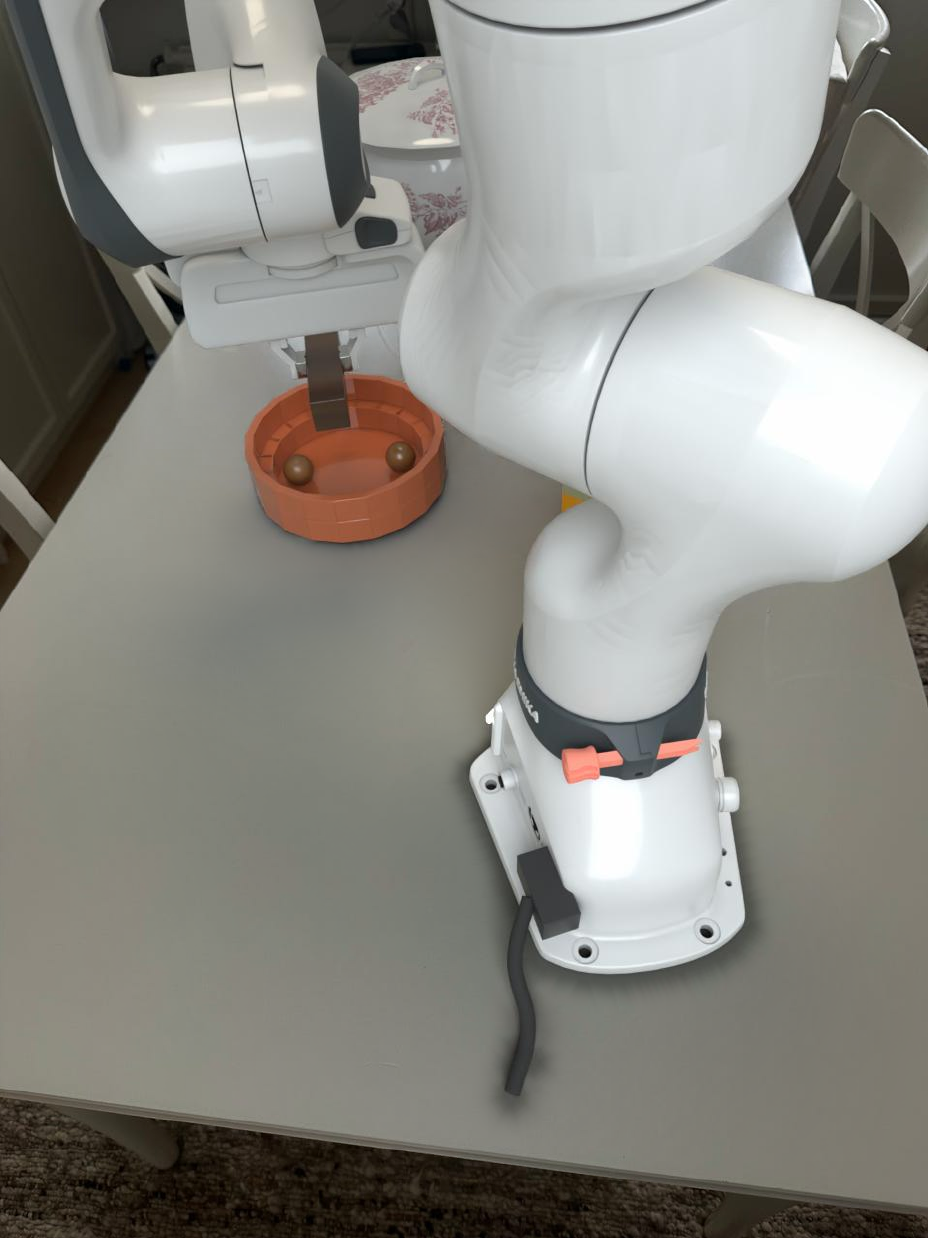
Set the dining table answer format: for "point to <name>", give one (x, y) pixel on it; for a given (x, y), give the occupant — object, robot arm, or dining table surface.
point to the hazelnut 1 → (298, 469)
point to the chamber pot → (414, 139)
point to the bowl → (347, 462)
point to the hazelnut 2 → (400, 456)
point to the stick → (326, 382)
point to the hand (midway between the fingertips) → (326, 371)
